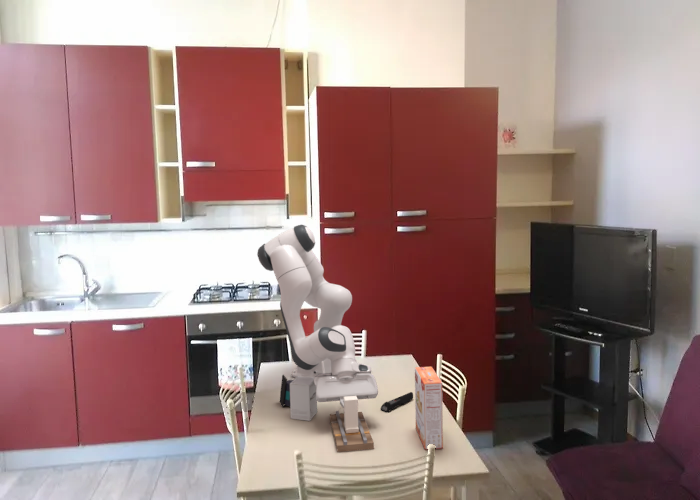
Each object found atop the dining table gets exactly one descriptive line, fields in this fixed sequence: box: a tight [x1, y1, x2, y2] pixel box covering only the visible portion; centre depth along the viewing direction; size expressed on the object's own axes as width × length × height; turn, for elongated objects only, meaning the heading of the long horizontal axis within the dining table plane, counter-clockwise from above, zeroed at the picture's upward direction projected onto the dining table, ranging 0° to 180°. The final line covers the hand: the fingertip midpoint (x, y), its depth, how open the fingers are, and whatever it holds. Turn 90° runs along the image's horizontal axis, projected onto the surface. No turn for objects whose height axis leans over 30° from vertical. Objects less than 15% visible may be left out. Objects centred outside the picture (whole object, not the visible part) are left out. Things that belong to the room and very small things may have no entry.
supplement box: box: [289, 376, 318, 422], centre depth 182 cm, size 7×7×13 cm
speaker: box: [278, 374, 294, 408], centre depth 191 cm, size 8×6×10 cm
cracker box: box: [414, 366, 444, 451], centre depth 163 cm, size 14×6×21 cm, turn 4°
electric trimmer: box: [380, 391, 414, 414], centre depth 190 cm, size 4×16×3 cm, turn 134°
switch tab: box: [343, 396, 359, 433], centre depth 166 cm, size 5×4×10 cm
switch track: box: [329, 410, 375, 453], centre depth 169 cm, size 22×11×3 cm, turn 8°
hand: (349, 412), depth 168 cm, fingers closed, pressing on switch tab
